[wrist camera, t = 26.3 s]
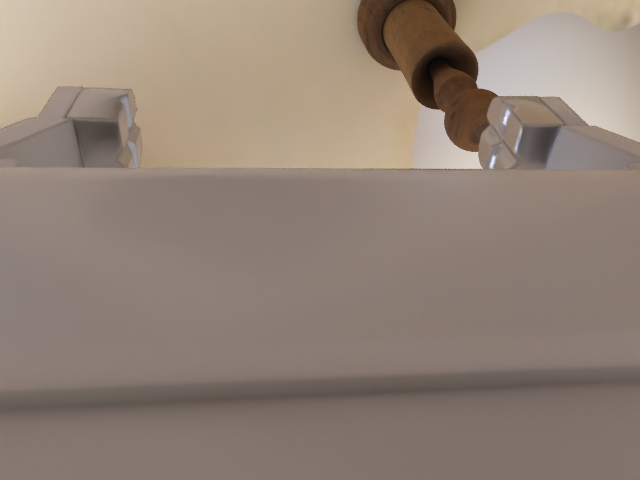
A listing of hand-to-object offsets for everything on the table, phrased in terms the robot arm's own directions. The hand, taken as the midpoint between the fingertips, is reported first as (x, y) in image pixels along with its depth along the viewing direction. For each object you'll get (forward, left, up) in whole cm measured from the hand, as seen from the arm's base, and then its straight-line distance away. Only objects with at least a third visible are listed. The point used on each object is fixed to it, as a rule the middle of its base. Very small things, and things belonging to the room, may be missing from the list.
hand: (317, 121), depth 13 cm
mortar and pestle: (+5, -10, -29) cm, 31 cm away
